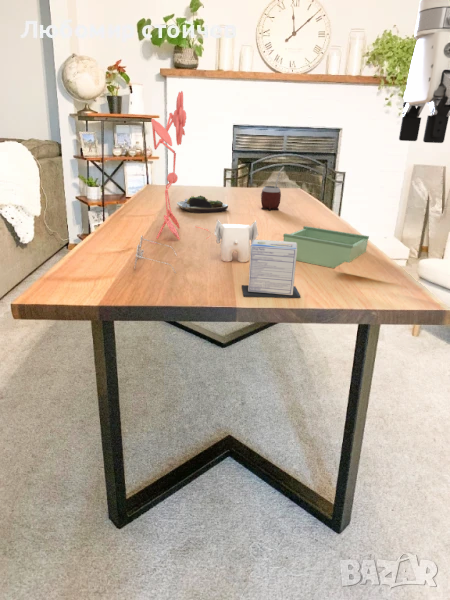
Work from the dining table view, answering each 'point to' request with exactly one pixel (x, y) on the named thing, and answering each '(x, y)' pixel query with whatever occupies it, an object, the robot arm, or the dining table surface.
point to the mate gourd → (271, 196)
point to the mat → (257, 294)
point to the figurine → (179, 123)
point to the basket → (327, 246)
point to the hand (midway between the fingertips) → (419, 141)
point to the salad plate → (202, 205)
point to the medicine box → (272, 267)
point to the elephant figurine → (235, 240)
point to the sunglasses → (143, 252)
